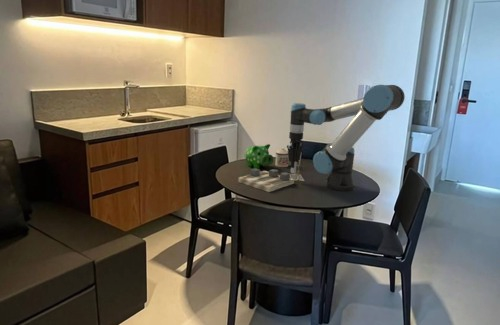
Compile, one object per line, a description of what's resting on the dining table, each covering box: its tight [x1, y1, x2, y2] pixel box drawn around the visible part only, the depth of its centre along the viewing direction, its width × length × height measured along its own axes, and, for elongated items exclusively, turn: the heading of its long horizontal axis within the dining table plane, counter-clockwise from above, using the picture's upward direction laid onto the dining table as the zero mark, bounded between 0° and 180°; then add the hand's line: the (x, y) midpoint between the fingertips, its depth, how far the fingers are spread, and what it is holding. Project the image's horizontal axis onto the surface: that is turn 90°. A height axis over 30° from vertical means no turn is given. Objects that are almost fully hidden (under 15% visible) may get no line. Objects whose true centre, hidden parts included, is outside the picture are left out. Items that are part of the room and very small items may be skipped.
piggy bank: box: [244, 143, 274, 169], centre depth 234 cm, size 14×18×15 cm
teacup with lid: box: [274, 147, 291, 168], centre depth 240 cm, size 12×9×12 cm
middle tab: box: [268, 169, 279, 177], centre depth 208 cm, size 4×4×3 cm
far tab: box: [249, 167, 261, 176], centre depth 208 cm, size 4×4×3 cm
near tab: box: [279, 172, 291, 180], centre depth 203 cm, size 4×4×3 cm
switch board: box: [237, 170, 295, 193], centre depth 205 cm, size 22×22×3 cm
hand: (293, 172), depth 209 cm, fingers closed
